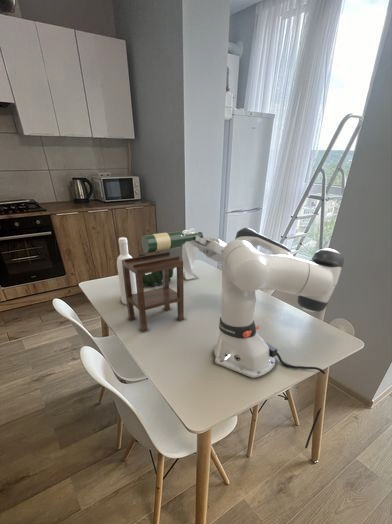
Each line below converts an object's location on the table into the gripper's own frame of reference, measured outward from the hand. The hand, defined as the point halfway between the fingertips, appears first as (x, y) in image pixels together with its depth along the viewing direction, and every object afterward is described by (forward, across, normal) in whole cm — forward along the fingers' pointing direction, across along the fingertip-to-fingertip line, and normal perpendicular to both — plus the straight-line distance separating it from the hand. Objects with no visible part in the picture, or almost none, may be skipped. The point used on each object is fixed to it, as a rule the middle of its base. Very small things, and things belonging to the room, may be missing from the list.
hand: (192, 236), depth 123 cm
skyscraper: (-35, +35, -18) cm, 52 cm away
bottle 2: (+6, 0, -8) cm, 10 cm away
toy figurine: (-17, +36, -28) cm, 49 cm away
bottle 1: (+2, +23, -39) cm, 46 cm away
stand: (0, 0, -38) cm, 38 cm away
